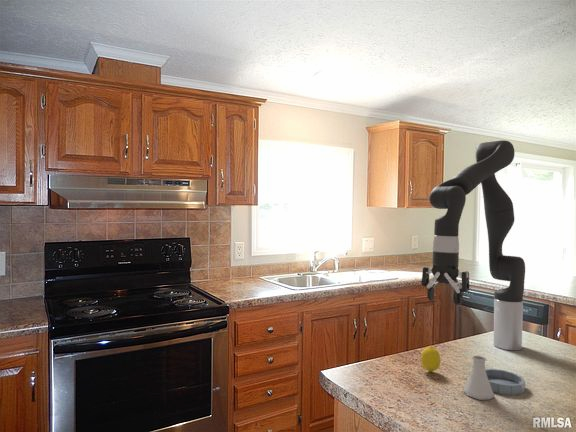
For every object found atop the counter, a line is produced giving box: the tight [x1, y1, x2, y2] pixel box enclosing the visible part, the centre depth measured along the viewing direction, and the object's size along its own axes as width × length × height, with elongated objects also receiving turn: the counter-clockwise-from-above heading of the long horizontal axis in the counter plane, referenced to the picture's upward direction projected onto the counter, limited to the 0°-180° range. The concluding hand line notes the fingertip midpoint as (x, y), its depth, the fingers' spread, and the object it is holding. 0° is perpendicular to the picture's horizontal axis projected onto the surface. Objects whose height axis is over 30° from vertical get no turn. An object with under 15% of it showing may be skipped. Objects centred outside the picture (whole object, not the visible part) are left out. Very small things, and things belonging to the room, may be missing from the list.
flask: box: [462, 355, 495, 401], centre depth 109 cm, size 7×7×10 cm
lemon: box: [420, 345, 441, 373], centre depth 124 cm, size 6×6×8 cm
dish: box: [485, 368, 526, 396], centre depth 115 cm, size 12×12×2 cm
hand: (444, 302), depth 127 cm, fingers open, 8 cm apart
